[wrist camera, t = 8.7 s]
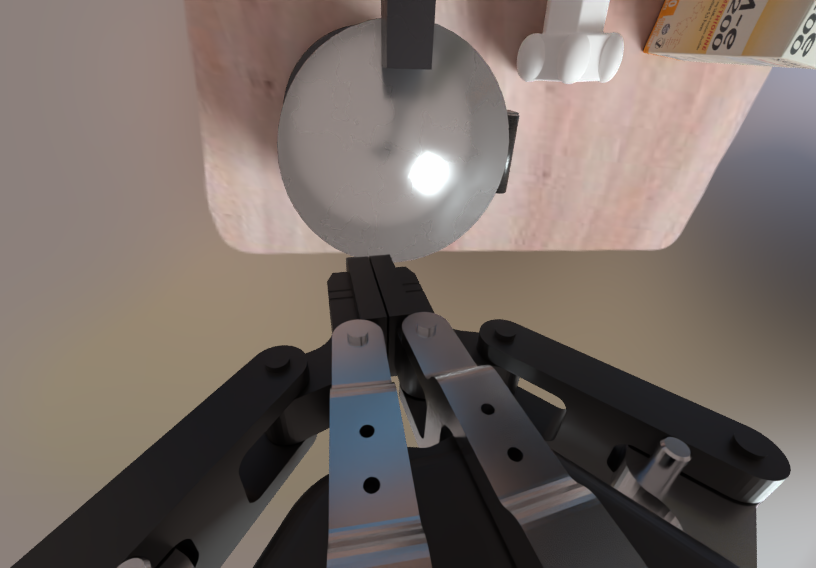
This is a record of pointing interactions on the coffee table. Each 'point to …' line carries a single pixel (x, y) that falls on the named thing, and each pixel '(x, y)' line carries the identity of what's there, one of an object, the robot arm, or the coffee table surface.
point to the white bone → (571, 45)
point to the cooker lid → (394, 136)
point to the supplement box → (737, 32)
